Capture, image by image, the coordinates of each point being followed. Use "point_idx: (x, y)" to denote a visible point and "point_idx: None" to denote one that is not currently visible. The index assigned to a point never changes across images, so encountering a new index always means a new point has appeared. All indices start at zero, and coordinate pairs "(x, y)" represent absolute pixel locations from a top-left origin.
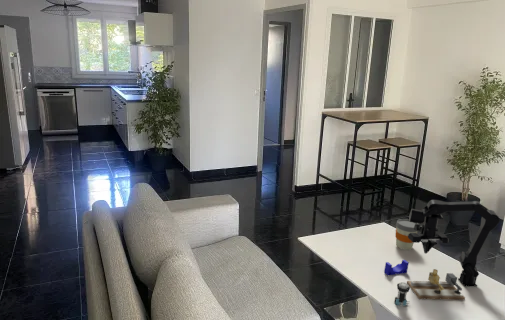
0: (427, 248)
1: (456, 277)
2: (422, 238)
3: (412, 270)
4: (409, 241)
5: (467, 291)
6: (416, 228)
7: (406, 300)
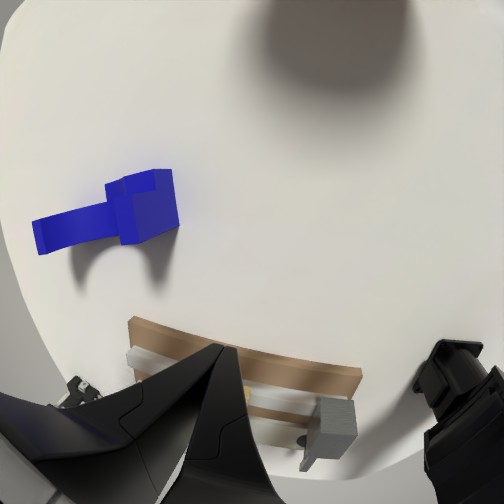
0: (173, 458)
1: (338, 457)
2: (2, 498)
3: (231, 205)
4: None
5: (385, 413)
6: None
7: None
